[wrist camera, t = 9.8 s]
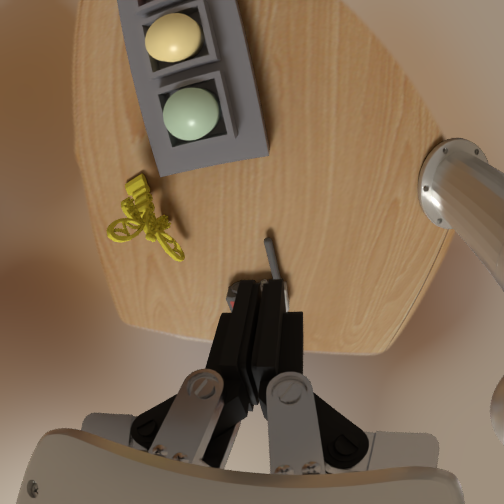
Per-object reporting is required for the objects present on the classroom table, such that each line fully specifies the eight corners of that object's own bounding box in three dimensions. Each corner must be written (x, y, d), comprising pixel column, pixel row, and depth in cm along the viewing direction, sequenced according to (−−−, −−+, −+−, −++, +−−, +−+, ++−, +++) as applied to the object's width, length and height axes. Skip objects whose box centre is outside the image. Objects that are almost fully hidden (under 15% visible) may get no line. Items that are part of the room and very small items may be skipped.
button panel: (220, -59, 14) (211, -77, 10) (269, 149, 29) (268, 160, 25) (124, -25, 16) (103, -35, 12) (169, 169, 31) (153, 183, 27)
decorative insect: (180, 194, 38) (189, 260, 35) (163, 203, 39) (170, 267, 36) (115, 154, 27) (113, 234, 24) (97, 168, 28) (94, 246, 25)
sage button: (215, 81, 22) (209, 81, 20) (226, 129, 25) (221, 133, 23) (167, 95, 23) (157, 97, 21) (179, 140, 26) (170, 146, 24)
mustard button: (199, 12, 18) (191, 6, 16) (209, 54, 21) (202, 51, 18) (151, 28, 19) (140, 24, 17) (161, 69, 21) (150, 68, 19)
